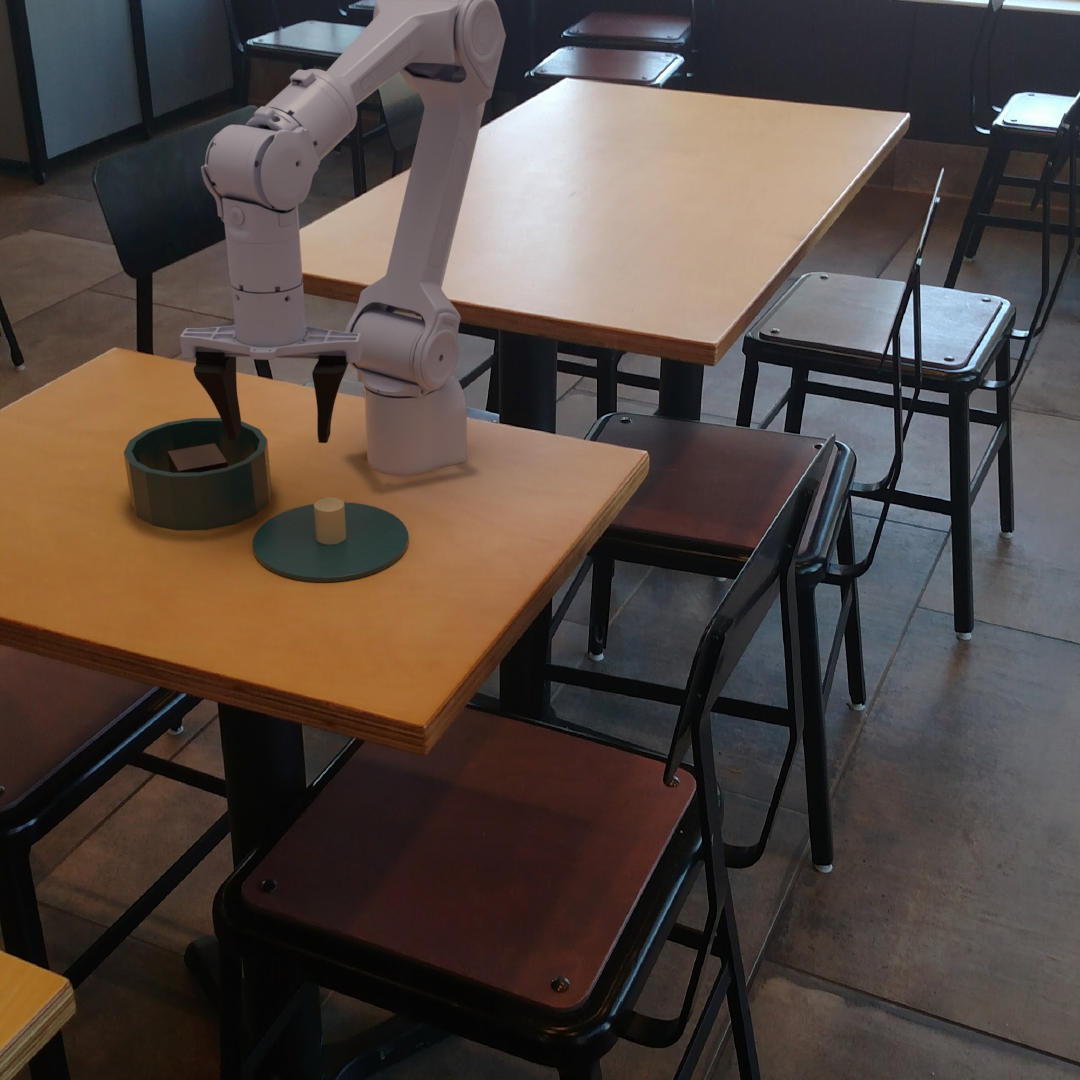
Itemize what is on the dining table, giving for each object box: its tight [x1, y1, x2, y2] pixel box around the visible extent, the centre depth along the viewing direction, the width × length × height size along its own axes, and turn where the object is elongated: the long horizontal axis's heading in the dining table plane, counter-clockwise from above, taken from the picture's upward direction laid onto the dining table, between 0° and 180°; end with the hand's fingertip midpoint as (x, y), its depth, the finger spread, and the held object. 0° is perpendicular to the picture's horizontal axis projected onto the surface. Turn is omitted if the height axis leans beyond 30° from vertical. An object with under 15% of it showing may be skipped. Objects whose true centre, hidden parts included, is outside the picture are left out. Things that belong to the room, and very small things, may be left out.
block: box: [167, 443, 228, 473], centre depth 115 cm, size 4×4×4 cm
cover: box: [252, 496, 410, 583], centre depth 108 cm, size 13×13×4 cm
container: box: [123, 417, 273, 531], centre depth 114 cm, size 12×12×6 cm
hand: (279, 436), depth 107 cm, fingers open, 7 cm apart
